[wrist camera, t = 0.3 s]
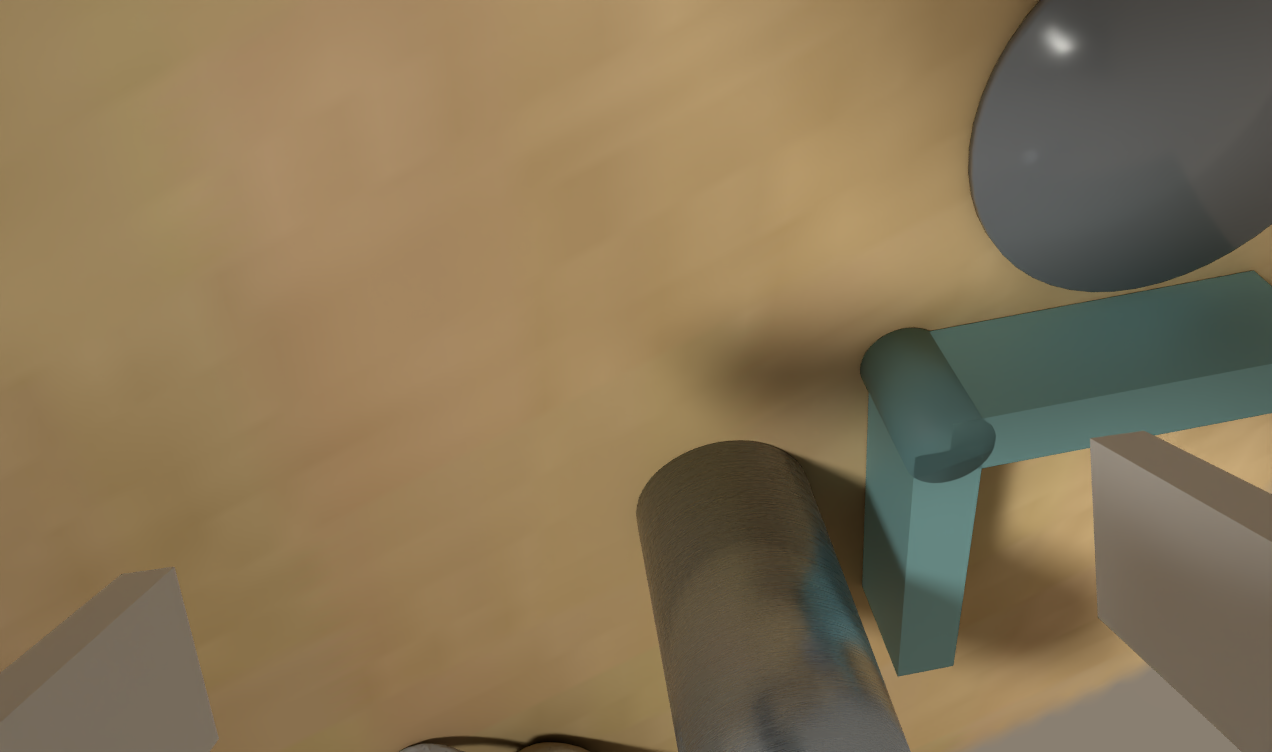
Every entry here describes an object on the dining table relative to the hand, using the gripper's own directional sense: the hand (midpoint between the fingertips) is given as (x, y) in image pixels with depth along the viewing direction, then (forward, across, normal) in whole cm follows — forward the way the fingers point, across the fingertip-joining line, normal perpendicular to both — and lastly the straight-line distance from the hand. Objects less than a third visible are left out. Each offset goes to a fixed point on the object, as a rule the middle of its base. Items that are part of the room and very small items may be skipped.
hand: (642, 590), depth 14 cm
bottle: (+19, +2, -6) cm, 20 cm away
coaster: (+14, +15, +5) cm, 21 cm away
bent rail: (+19, +13, -5) cm, 24 cm away
